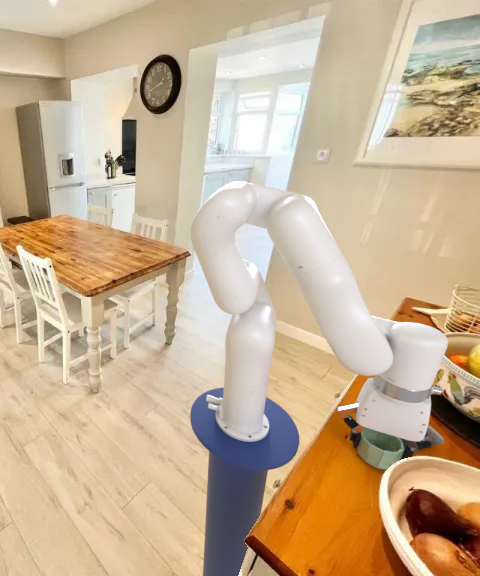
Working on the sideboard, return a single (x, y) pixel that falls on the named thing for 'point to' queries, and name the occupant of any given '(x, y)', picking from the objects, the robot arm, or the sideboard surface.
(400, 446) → the top bowl
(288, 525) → the sideboard surface
